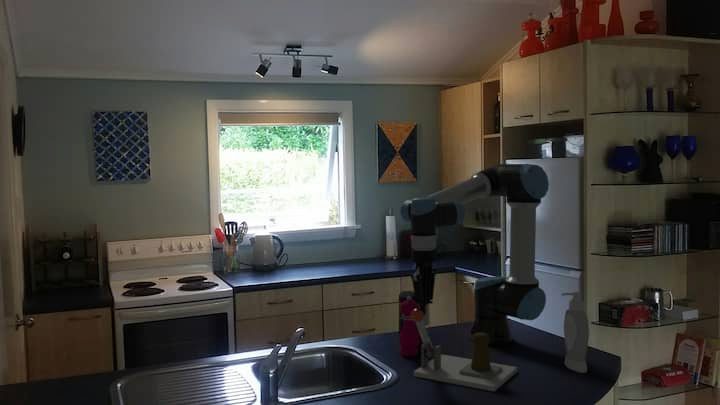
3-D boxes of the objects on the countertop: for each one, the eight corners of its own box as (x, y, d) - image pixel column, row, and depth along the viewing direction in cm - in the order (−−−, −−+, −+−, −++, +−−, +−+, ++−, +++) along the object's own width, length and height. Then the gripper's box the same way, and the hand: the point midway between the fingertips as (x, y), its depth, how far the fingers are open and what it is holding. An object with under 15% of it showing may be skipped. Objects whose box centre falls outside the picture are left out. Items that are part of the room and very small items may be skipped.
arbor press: (441, 358, 217) (441, 333, 216) (516, 371, 203) (517, 345, 203) (413, 376, 200) (413, 349, 199) (494, 391, 186) (494, 362, 186)
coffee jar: (424, 345, 232) (424, 294, 231) (402, 346, 231) (402, 295, 230) (417, 337, 242) (417, 288, 241) (396, 339, 241) (396, 289, 239)
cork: (490, 372, 195) (491, 336, 195) (470, 371, 197) (470, 335, 196) (490, 366, 201) (491, 331, 200) (471, 364, 202) (471, 330, 202)
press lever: (428, 350, 206) (412, 305, 195) (440, 352, 204) (424, 306, 193) (424, 360, 204) (406, 314, 193) (435, 362, 201) (419, 316, 191)
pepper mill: (396, 355, 221) (395, 297, 220) (402, 349, 228) (402, 293, 227) (416, 357, 219) (416, 298, 217) (422, 351, 225) (422, 294, 224)
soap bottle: (550, 363, 211) (551, 289, 210) (571, 361, 213) (572, 288, 211) (572, 376, 199) (573, 297, 197) (594, 374, 200) (596, 296, 199)
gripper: (422, 245, 204) (422, 318, 206) (402, 250, 193) (403, 328, 195) (444, 246, 200) (444, 321, 202) (425, 252, 189) (426, 331, 191)
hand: (424, 324), depth 199 cm, fingers closed
